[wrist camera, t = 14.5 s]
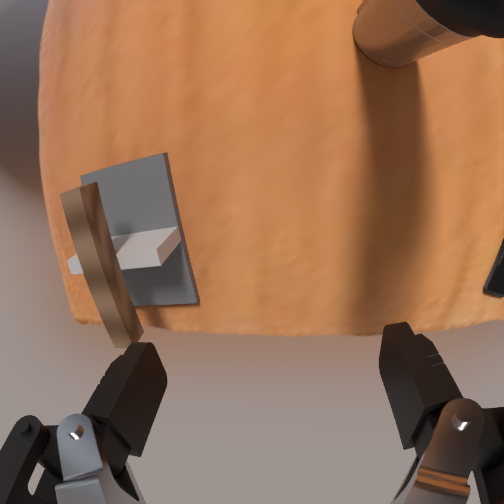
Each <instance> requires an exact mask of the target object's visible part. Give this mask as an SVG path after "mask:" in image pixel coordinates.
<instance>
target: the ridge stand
mask: <svg viewBox="0 0 504 504" xmlns="http://www.w3.org/2000/svg"><path fill="white" fill-rule="evenodd" d="M80 178H81V182H82V186H83V185H87V184H90V183H93V182H97V183H98V188H99V192H100V196H101V201H102V205H103V209H104V213H105V217H106V220H107V224H108V228H109V231H110V235H111V238H112V242H113V245H114V249H115V252H116V255H117V258H118V262H119V265H120V268H121V271H122V274H123V277H124V280H125V283H126V286H127V288H128V291H129V294H130V297H131V300H132V302H133V305H134V306H150V305H171V304H189V303H197V302H198V300H199V294H198V291H197V287H196V283H195V279H194V275H193V271H192V267H191V263H190V259H189V255H188V250H187V246H186V242H185V238H184V233H183V229H182V224H181V220H180V215H179V210H178V206H177V201H176V196H175V191H174V186H173V181H172V176H171V171H170V166H169V160H168V155H167V152H166V153H162V154H158V155H153V156H149V157H145V158H141V159H137V160H133V161H130V162H126V163H122V164H119V165H115V166H112V167H108V168H105V169H101V170H98V171H95V172H92V173H88V174H85V175H82V176H80ZM67 263H68V266H69V268H70V271H71V274H82V273H83V270H82V267H81V265H80V262H79V259H78V256H77V254H75V255H74V256H73V257H71V258H70V259H69V260H67Z"/></svg>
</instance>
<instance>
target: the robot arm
mask: <svg viewBox="0 0 504 504" xmlns="http://www.w3.org/2000/svg"><path fill="white" fill-rule="evenodd" d="M357 10H358V16H357V18H356V19H355V21H354V24H353V35H354V39H355V41H356V43H357V45H358V47H359V48H360V50H361V51H362V52H363V53H364V54H365V55H366V56H367V57H368V58H370V59H371V60H372V61H374V62H376V63H377V64H380V65H382V66H385V67H391V68H394V67H401V66H404V65H407V64H409V63H411V62H413V61H416V60H418V59H420V58H423V57H425V56H427V55H430V54H432V53H435V52H437V51H440V50H442V49H445V48H447V47H450V46H452V45H455V44H458V43H460V42H463V41H466V40H468V39H471V38H474V37H477V36H480V35H484V36H488V37H492V38H504V0H363V2H362V3H361V5H360V6H359V7H358V9H357ZM379 370H380V375H381V378H382V381H383V383H384V386H385V390H386V393H387V396H388V399H389V402H390V405H391V408H392V411H393V415H394V418H395V421H396V424H397V428H398V431H399V434H400V438H401V441H402V445H403V449H404V450H405V449H409V448H413V447H415V450H416V454H417V455H416V457H415V459H414V461H413V463H412V465H411V467H410V469H409V471H408V473H407V475H406V477H405V478H404V480H403V482H402V484H401V486H400V488H399V489H398V491H397V493H396V495H395V496H394V498H393V500H392V501H391V503H390V504H466V502H467V500H468V497H469V494H470V486H469V485H467V481H468V477H469V475H470V472H471V471H473V473H474V477H475V481H476V485H477V489H478V493H479V497H480V502H481V504H504V407H498V408H487V409H486V408H485V409H483V408H481V407H480V405H479V404H478V403H476V402H475V401H473V400H471V399H466V398H463V396H462V395H461V392H460V390H459V389H458V387H457V385H456V383H455V381H454V379H453V377H452V376H451V374H450V372H449V370H448V368H447V367H446V365H445V364H444V363H443V360H442V358H441V356H440V355H439V354H438V351H437V349H436V347H435V346H434V344H433V343H432V341H430V340H429V339H428V338H426V337H425V336H424V335H422V334H417V335H414V333H413V331H412V329H411V328H410V326H409V324H408V323H407V322H401V323H395V324H390V325H385V327H384V330H383V337H382V344H381V350H380V356H379ZM166 387H167V374H166V371H165V369H164V367H163V365H162V362H161V360H160V358H159V355H158V353H157V351H156V348H155V346H154V345H153V344H152V343H150V342H146V343H145V342H132V343H131V344H130V345H129V346H128V348H127V350H126V351H125V353H124V355H120V356H119V357H118V358H117V359H116V360H114V361H113V362H112V363H111V364H110V366H109V368H108V369H107V371H106V373H105V376H103V377H102V379H101V381H100V384H98V386H97V388H96V390H95V391H94V393H93V395H92V396H91V398H90V400H89V401H88V403H87V405H86V407H85V408H84V410H83V412H82V413H81V414H73V415H70V416H68V417H67V418H65V419H64V420H63V421H62V422H61V423H60V425H56V426H54V425H53V426H44V425H43V424H42V423H41V422H40V421H39V419H38V418H37V417H35V416H32V415H28V416H24V417H22V418H21V419H20V420H19V421H17V422H16V424H15V425H14V427H13V429H12V431H11V432H10V434H9V436H8V438H7V439H6V441H5V443H4V445H3V447H2V449H1V450H0V504H146V502H145V500H144V498H143V496H142V494H141V492H140V489H139V487H138V485H137V483H136V480H135V478H134V475H133V473H132V470H131V468H130V466H129V464H128V462H127V458H128V455H133V456H138V457H141V455H142V452H143V449H144V446H145V443H146V441H147V438H148V435H149V433H150V430H151V427H152V424H153V422H154V419H155V416H156V414H157V411H158V408H159V405H160V403H161V400H162V398H163V395H164V392H165V390H166ZM37 462H38V463H39V464H40V465H41V466H42V467H44V468H45V469H44V472H43V474H42V477H41V479H40V481H39V483H38V486H37V488H36V491H35V493H34V495H31V494H30V493H29V491H28V482H29V480H30V477H31V475H32V473H33V471H34V469H35V466H36V464H37Z"/></svg>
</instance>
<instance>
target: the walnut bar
mask: <svg viewBox="0 0 504 504" xmlns="http://www.w3.org/2000/svg"><path fill="white" fill-rule="evenodd" d="M60 197H61V201H62V205H63V209H64V212H65V216H66V220H67V223H68V227H69V230H70V234H71V237H72V240H73V243H74V247H75V250H76V253H77V256H78V259H79V262H80V265H81V267H82V270H83V273H84V276H85V279H86V281H87V284H88V286H89V289H90V292H91V294H92V297H93V299H94V302H95V304H96V306H97V309H98V311H99V314H100V316H101V318H102V320H103V323H104V325H105V327H106V329H107V331H108V334H109V336H110V338H111V340H112V342H113V344H114V346H115V348H128V346H129V345H130V344H131V343H132V342H138V341H139V339H140V338H141V336H142V334H143V333H144V331H143V328H142V326H141V323H140V321H139V318H138V316H137V313H136V310H135V308H134V305H133V302H132V300H131V297H130V294H129V291H128V288H127V286H126V283H125V280H124V277H123V274H122V271H121V268H120V265H119V262H118V258H117V255H116V252H115V249H114V245H113V242H112V238H111V235H110V231H109V228H108V224H107V220H106V217H105V213H104V209H103V205H102V201H101V196H100V192H99V188H98V183H97V182H93V183H90V184H87V185H83V186H80V187H77V188H74V189H72V190H69V191H66V192H64V193H61V194H60Z"/></svg>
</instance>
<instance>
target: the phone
mask: <svg viewBox="0 0 504 504" xmlns="http://www.w3.org/2000/svg"><path fill="white" fill-rule="evenodd" d="M483 290H484V291H485V292H486V293H488V294H492V295H496V296H499V297H504V239H503V242H502V245H501V247H500V250H499V252H498V255H497V257H496V260H495V262H494V264H493V267H492V269H491V271H490V273H489V276H488V278H487V280H486V282H485V284H484V287H483Z"/></svg>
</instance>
